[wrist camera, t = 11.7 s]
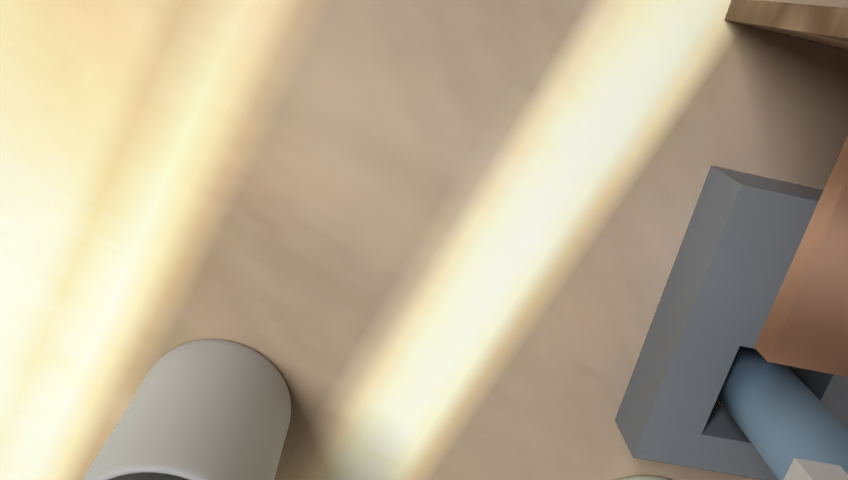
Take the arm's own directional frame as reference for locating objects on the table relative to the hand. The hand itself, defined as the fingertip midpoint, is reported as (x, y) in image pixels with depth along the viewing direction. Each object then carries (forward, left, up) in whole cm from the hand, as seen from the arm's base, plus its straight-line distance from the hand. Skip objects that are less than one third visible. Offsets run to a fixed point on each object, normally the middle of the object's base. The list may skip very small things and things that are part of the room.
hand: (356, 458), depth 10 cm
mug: (+20, -7, -27) cm, 34 cm away
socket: (+7, +23, -27) cm, 36 cm away
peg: (+10, +23, -27) cm, 37 cm away
